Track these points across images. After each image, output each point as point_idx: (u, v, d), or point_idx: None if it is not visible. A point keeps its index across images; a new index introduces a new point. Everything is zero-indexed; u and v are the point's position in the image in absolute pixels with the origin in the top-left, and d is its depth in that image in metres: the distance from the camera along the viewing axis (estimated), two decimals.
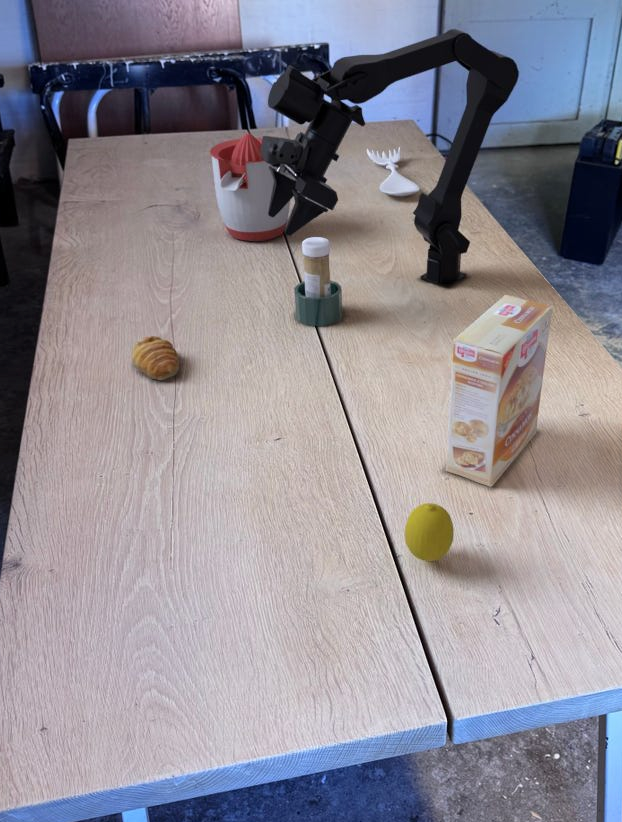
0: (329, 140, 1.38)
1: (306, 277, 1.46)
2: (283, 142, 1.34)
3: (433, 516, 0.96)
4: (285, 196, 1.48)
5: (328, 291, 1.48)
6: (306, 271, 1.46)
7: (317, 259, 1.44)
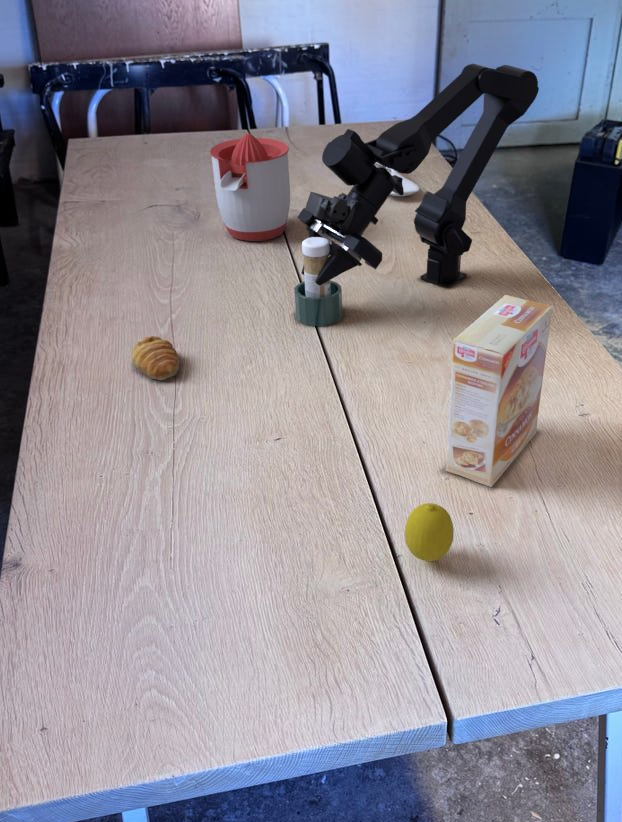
0: (374, 204, 1.43)
1: (306, 277, 1.46)
2: (338, 199, 1.38)
3: (433, 516, 0.96)
4: None
5: (328, 291, 1.48)
6: (306, 271, 1.46)
7: (317, 259, 1.44)
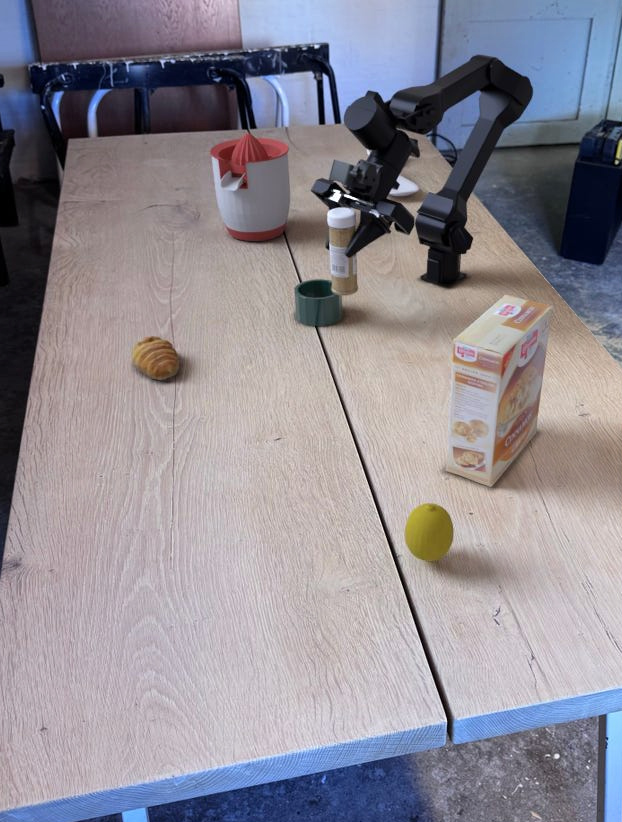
0: (397, 167, 1.38)
1: (333, 251, 1.40)
2: (369, 164, 1.32)
3: (433, 516, 0.96)
4: None
5: (356, 263, 1.42)
6: (333, 244, 1.39)
7: (346, 230, 1.37)
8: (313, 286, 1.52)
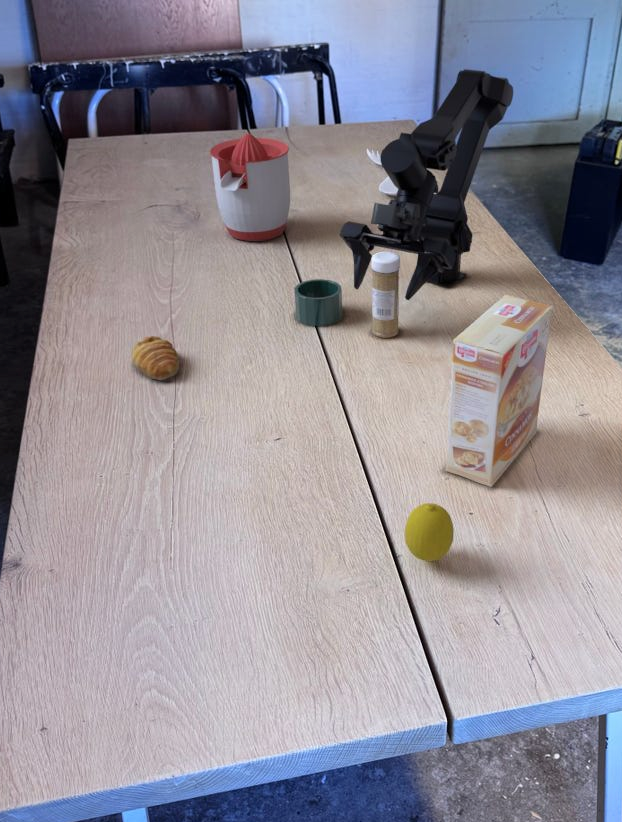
0: (427, 205, 1.41)
1: (379, 295, 1.41)
2: (415, 205, 1.34)
3: (433, 516, 0.96)
4: (364, 267, 1.44)
5: (398, 305, 1.44)
6: (380, 289, 1.40)
7: (393, 274, 1.39)
8: (313, 286, 1.52)
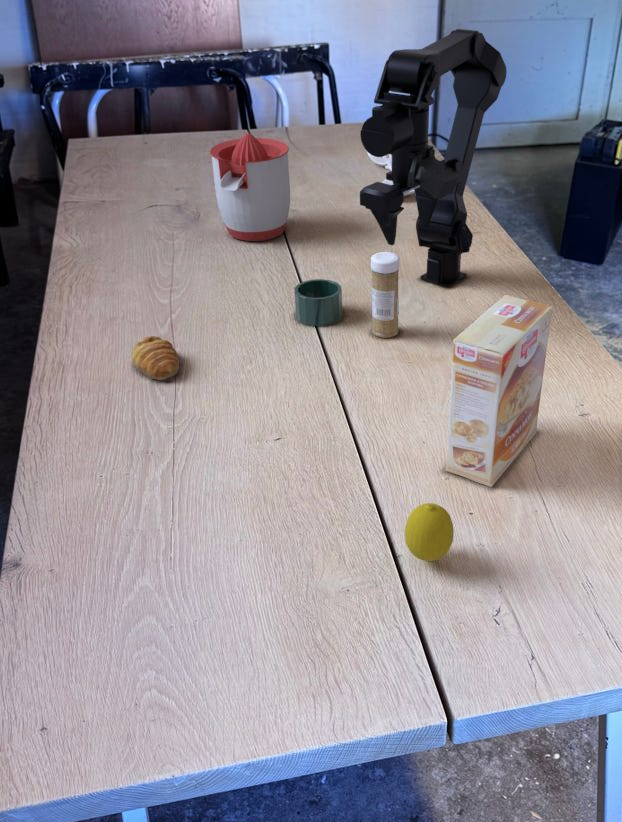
0: (425, 140, 1.36)
1: (379, 295, 1.41)
2: (461, 163, 1.38)
3: (433, 516, 0.96)
4: None
5: (398, 305, 1.44)
6: (379, 289, 1.40)
7: (393, 274, 1.39)
8: (313, 286, 1.52)
